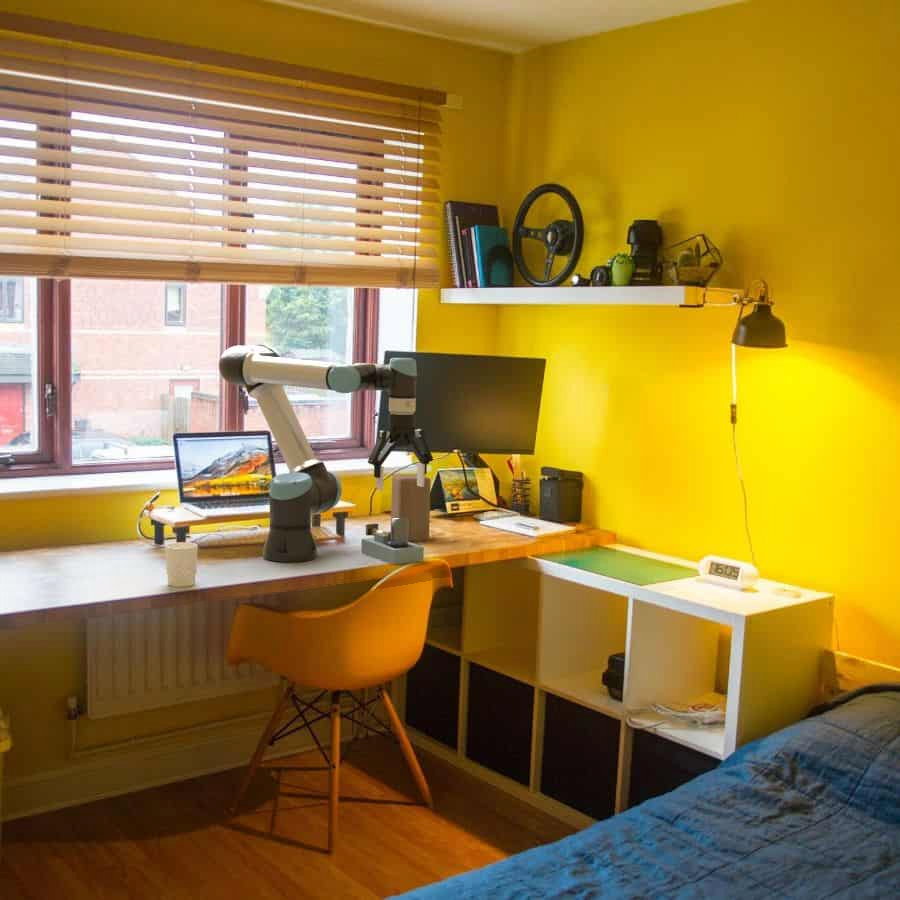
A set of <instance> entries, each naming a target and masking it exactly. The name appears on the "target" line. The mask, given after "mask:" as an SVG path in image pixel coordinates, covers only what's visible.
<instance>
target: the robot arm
mask: <svg viewBox="0 0 900 900" xmlns="http://www.w3.org/2000/svg"><path fill="white" fill-rule="evenodd" d="M218 369H219V373H220V375H221V377H222V378H223V379H224V381H226V382H227V383H228V384H231V385H233V386H238V387H239V386H240V387H242V386H244V387H245V390H246V392H247V394H248V396H249V397H251V398H253V399H256V401H257V404H258V406H259V408H260V410H261V412H262V414H263V417H264V419H265V421H266V423H267V425H268V427H269V429H270V431H271V433H272V436H273V439H274V441H275V443H276V444H277V447H278V449H279V451H280V453H281V455H282V458H283V460H284V462H285V464H286V466H287V468H288V470H289V472H288V473H286V472H285V473H281V474H278V475H276V476H273V477H272V478H271V480H270V483H269V489H268V493H269V531H268V534H267V537H266V539H265V543H264V546H263V549H262V554H263V555H262V557H263V559H265V560H267V561H271V562H272V561H273V562H279V563H280V562H281V563H282V562H283V563H297V562H298V563H299V562H307V561H312V560H314V559H316V558H317V556H318V549H317V545H316V542H315V539H314V536H313V533H312V516H313V515H317V514H324V513H326V512H328V511H330V510H332V509H334V508H335V507H336V506H337V505H338V503H339V502H340V499H341V496H342V483H341V481H340V479H339V477H337V475H336V474H335V473H333V472H331V471H328V469H327V467H326V466H325V465H326V464H325V463H324V461H323V460H319V459H317V457H316V456H315V454H314V451H313V449H312V446H311V445H310V442H309V441H308V440H309V439H307V437H306V436H307V435H306V434H305V432H304V430H303V428H302V425H301V423H300V422H299V419H298V417H297V415H296V413H295V410H294V408H293V406H292V404H291V402H290V400H289V397H288V396H287V393H286V391H285V389H284V386H289V387H297V388H308V389H317V390H318V389H319V390H326V391H332V392H333V391H334V392H336V393H339V394H350V393H355V392H356V393H357V392H366V391H368V392H369V391H378V392H379V391H380V392H382V391H383V392H388V411H389V412H390V413H389V414H388V431H386V430H379V431H378V434H377V439H376V442H375V443H374V446H373V448H372V451H371V453H370V455H369V458H368V460H367V463H368V464H370V465H371V466H373V472H374V473H373V477H374V478H375V481H376V482H375V483H376V484H375V489H377V490H380V491H384V485H385V484H384V479H385V478H384V477H385V476H384V473H385V471H384V470H385V466H383V464H384V462H385V461H386V460H387V458H388V457H389V455H390V454H392V452H393V449H395V448H396V447H403V446H404V447H409V449H410V451H412V453H413V454H414V456H415V457H416V458H417V460H418V461H419V462H418V463H417V465H416V466H417V467H416V470H417V471H416V474H417V486H420V487H424V476H426V475H427V472H428V471H427V469H428V467H427V466H428V464H429V463H430V462H433V460H434V456H433V455H432V452H431V450H430V447H429V444H428V442H427V440H426V437H425V430H424V429H420V428H417V429H415V427H416V414H415V412H416V406H417V405H416V404H417V403H416V402H417V400H416V398H417V396H416V394H417V393H416V392H417V376H418V373H417V361H416V360H415V359H414V358H412V357H392V358H390V359H389V363H388V364H384V363H381V364H380V363H368V362H357V363H354V364H346V363H345V364H344V363H333V362H326V361H325V362H324V361H316V360H314V361H312V360H304V359H294V358H285V357H284V358H283V357H282V355H281V353H280V352H279V351H278V350H277V349H276V348H274V347H272V346H270V345H269V346H268V345H263V344H255V345H233V346H231V347H229V348H227V349H225V351H224V352H223V353H222V354H221V356H220V358H219V361H218ZM415 437H416V439H417V440H416V441H415V439H414V438H415ZM387 439H388V440H387ZM386 441H387V442H386ZM416 442H418V445H419V446H418V445H417V443H416ZM384 445H385V446H384ZM383 447H384V448H383Z"/></svg>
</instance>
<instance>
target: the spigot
mask: <svg viewBox="0 0 900 900" xmlns="http://www.w3.org/2000/svg"><path fill="white" fill-rule="evenodd" d="M408 527H409V518H408V517H404V516H395V517H390V532H391V547H392V548H395V549H397V548H406V547H408Z"/></svg>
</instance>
